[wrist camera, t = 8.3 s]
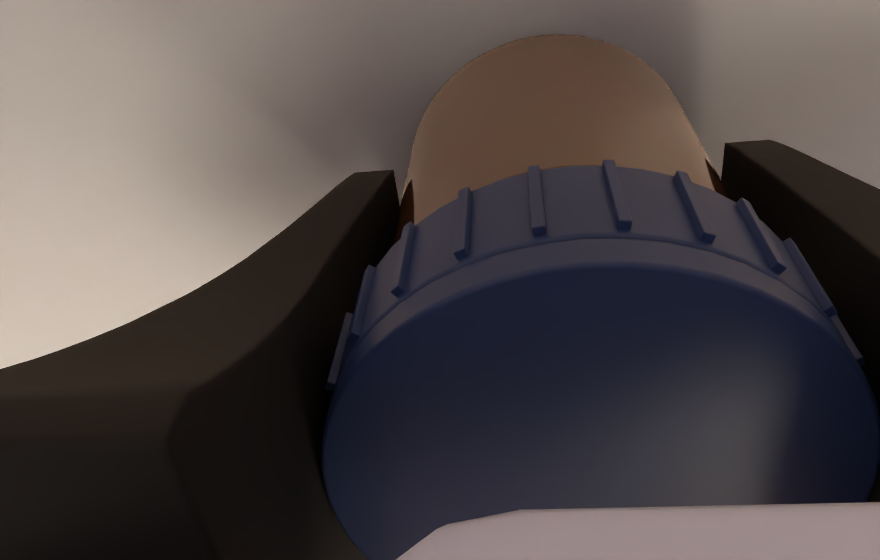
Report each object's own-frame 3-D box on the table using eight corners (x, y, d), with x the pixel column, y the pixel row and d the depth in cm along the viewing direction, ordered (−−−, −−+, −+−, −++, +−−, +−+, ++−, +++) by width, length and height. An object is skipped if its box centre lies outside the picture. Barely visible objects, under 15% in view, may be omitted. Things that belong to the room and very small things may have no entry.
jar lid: (783, 512, 10) (833, 640, 8) (383, 521, 10) (365, 641, 9) (869, 133, 7) (966, 232, 5) (296, 179, 7) (249, 278, 6)
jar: (431, 292, 14) (397, 572, 9) (389, 50, 11) (313, 263, 7) (682, 275, 13) (788, 563, 9) (699, 16, 11) (864, 220, 6)
